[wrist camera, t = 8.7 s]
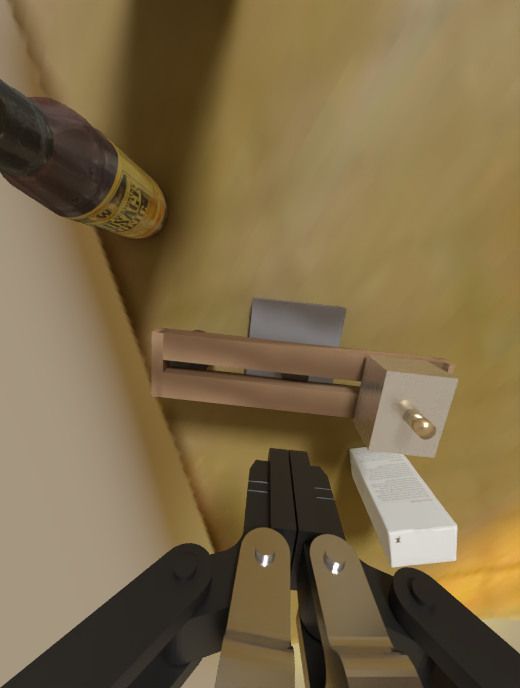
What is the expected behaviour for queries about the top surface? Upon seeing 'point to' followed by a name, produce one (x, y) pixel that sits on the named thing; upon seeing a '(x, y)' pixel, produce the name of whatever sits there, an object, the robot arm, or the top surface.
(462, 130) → the top surface
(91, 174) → the sauce bottle
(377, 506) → the skincare box
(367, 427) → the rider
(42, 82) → the top surface
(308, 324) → the balance beam
